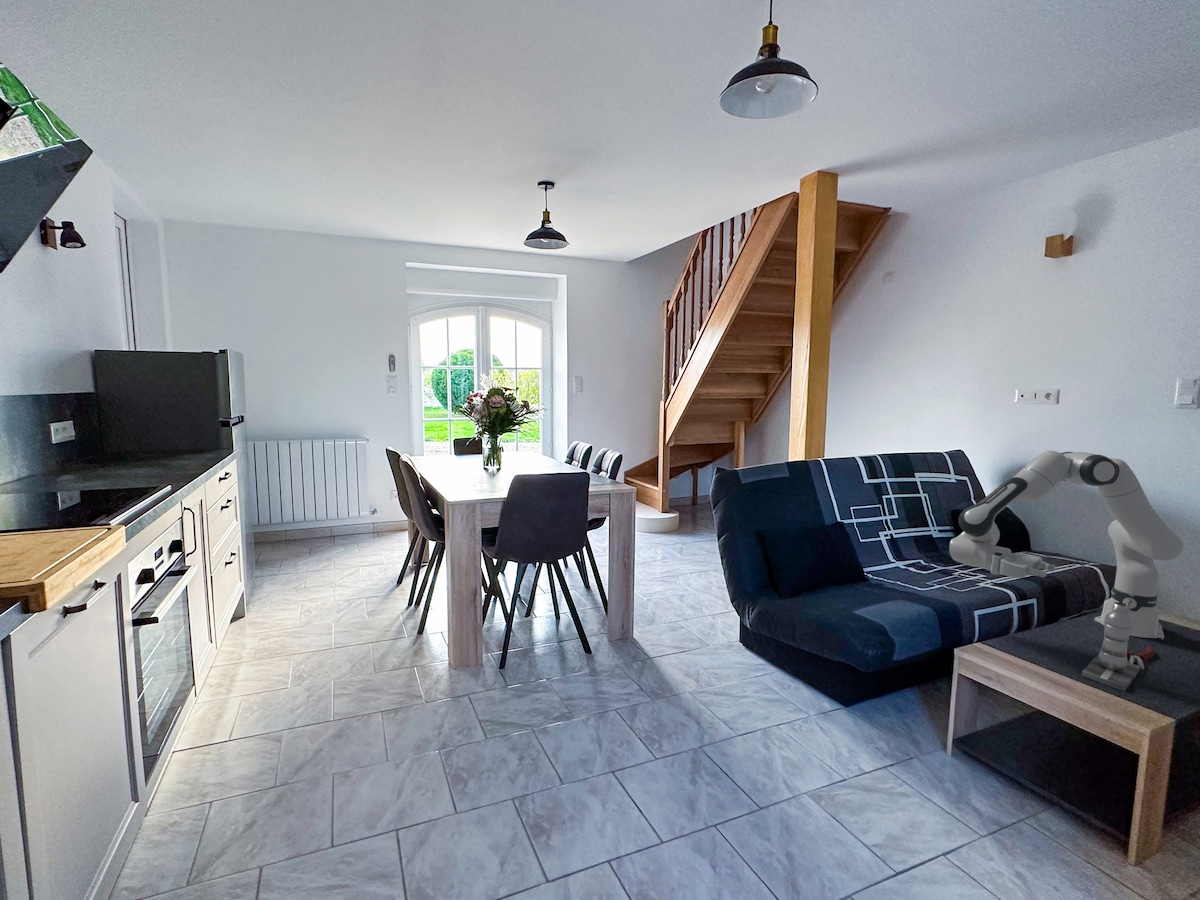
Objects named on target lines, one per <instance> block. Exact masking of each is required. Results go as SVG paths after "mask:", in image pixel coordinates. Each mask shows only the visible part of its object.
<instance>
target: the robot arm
mask: <svg viewBox="0 0 1200 900" xmlns="http://www.w3.org/2000/svg"><path fill="white" fill-rule="evenodd" d="M1062 481H1064V482H1070V483H1072V484H1075V485H1076V484H1077V485H1088V486H1092V487H1097V489H1098V491H1099V493H1100V496H1101V498H1102V499H1103V502H1104V504H1105V506H1106V508H1107V511H1108V512H1109V513H1110V516H1111V517H1113V518H1114V520H1113V521H1112V522H1111V523H1110V524H1109V525H1108V529H1107V534H1108V536H1109V539H1111V541H1112V544H1113V547H1114V552H1115V553H1114V554H1115V559H1116V572H1115V580H1114V585H1113V586H1112V589H1111V591H1110V593H1111V594H1110V596H1111V597H1110V598H1108V599H1106V600H1104V602H1103V606H1102V607H1103V608H1102V612H1101V615H1099V616H1095V618H1094V622H1097V623H1099V624H1101V625H1102V626H1104V618H1105V616H1106V615H1107V614H1108V613H1110V612H1111V611H1113V609H1112V607H1113V604H1114V602H1119V603H1124V604H1127V605H1129V606H1130V612H1129V613H1128V615H1129V616H1130V618H1131V620H1132V621H1133V628H1132V631H1131V633H1130V636H1131V637H1136V638H1145V639H1157V638H1161V639H1160V640H1165V635H1164V631H1163V627H1162V625H1161V623H1160V622H1159V620H1160V613H1159V612H1158V610H1157V609H1156V607H1157V606H1156V605H1157V603H1158V596H1157V590H1158V584H1159V580H1160V574H1159V573H1160V572H1159V571H1158V569H1157V568H1156V566H1155V564H1154V563H1155V562H1154V560H1158V561H1172V560H1175V559H1176V558H1178V557H1179V556H1180V555H1181V554H1182V553H1183V549H1184V543H1183V540H1182V539H1181V537H1180V536H1178V534H1176V533H1175V532H1174V531H1173V530H1172V529H1170V528H1169V526H1168V525H1167V524H1166V522H1165V521H1164V520H1163V519H1162V518H1161V517H1160V516H1159V514H1158V513H1157V512H1156V510H1155V509H1154V507H1153V506H1152V505H1151V504H1150V502H1149V500H1148V498H1147V495H1146V493H1145V491H1144V489H1143V487H1142V486H1141V483H1140V482H1139V479H1138V478H1137V476H1136V474H1135V473H1134V471H1133V470H1132V468H1131V467H1130V466H1129V465H1128V463H1127V462H1126V461H1124V460H1123V459H1120V458H1109V457H1107V456H1105V455H1102V454H1095V453H1091V452H1073V451H1064V452H1059V451H1055V450H1046V451H1044V452H1042V453H1040V454H1039V455H1037V456H1036V457H1034V458H1033V459H1032V460H1030V461H1029V462H1028V463H1027V464H1026V465H1025V466H1023V468H1022V469H1021V470H1020V471H1019V472H1017V473H1016V474H1015V475H1014V476H1013V477H1011V478H1009V479H1007V480H1006V481H1004V482H1003V483H1001V484H1000V485H999V486H997V488H995V489H994V490H993V491H991V492H990V493H989V494H988V495H986V496H985V497H984V498H983V499H982V500H980V501H979V502H977V503H975V504H972V505H971V506H969V507H968V506H967V507H966V508H965V509H964V510H962V511H961V512H960V514H959V516H958V521H957V523H958V525H959V527H960V528H961V530H962V532H961V533H960V534H959V535H957V536H956V537H953V538H952V539H950V541H949V543H948V552H949V555H950V558H952V560H953V561H955V562H956V563H957V562H958V563H959V564H963V565H966V566H969V567H974V568H982V569H984V570H986V571H990V574H992V575H995V576H998V575H1000V576H1001V575H1002V576H1005V577H1006V576H1007V577H1011V578H1017V579H1024V578H1025V577H1027V576H1031V577H1032V576H1033V577H1041V578H1045V577H1047V574H1048V571H1049V572H1052V573H1053V572H1055V571H1056V565H1054V564H1051V563H1050V564H1049V563H1048V562H1045V561H1043V557H1041V556H1038V555H1034V554H1028V553H1023V552H1016V553H1013V552H1012V550H1011V549H1010V548H1008V547H1003V546H1000V545H997V544H998V542H999V540H1000V537H1001V534H1000V530H999V528H998V525H997V524H996V522H995V518H996V516H997V515H998V514H999V513H1001V511H1003V510H1005V508H1007V506H1009V505H1010V504H1011V503H1013V502H1014V501H1016V500H1023V501H1026V502H1037V501H1039V500H1041V499H1043V498H1045V497H1047V495H1049V493H1051V491H1053V489H1055V487H1056V486H1058V485H1059V483H1061V482H1062ZM1042 569H1044V570H1042ZM1046 570H1047V571H1046Z"/></svg>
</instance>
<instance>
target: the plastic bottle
mask: <svg viewBox="0 0 1200 900" xmlns="http://www.w3.org/2000/svg"><path fill="white" fill-rule="evenodd" d="M1112 609H1113V611H1111V612H1110V613H1108V614H1107V615H1106V616H1105V618H1104V625H1103V626H1104V631H1103V633H1104V635H1103V641H1102V645H1101V649H1100V650H1099V653H1098V654H1099V656H1098V660H1099V663H1100V664H1101V665H1102V666H1104V667H1106V668H1108V669H1112V670H1116V671H1123V670H1124V669H1126V666H1127V662H1128V659H1127V650H1128V644H1129V640H1130V636H1131V635H1130V633H1131V631H1132V628H1133V621H1132V620H1131V618H1130V616H1129V615H1128V613H1129V612H1130V606H1129V605H1127V604H1124V603H1119V602H1114V604H1113V607H1112Z"/></svg>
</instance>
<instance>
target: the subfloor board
mask: <svg viewBox="0 0 1200 900" xmlns="http://www.w3.org/2000/svg"><path fill="white" fill-rule="evenodd" d="M1098 656H1099V653H1098V654H1096V656H1095V657H1094V658H1093V659H1092V660H1091V661H1090V662H1089V663H1088V664H1087V666H1085V668H1083V670H1082V671H1081V675H1082V676H1085V677H1087V678H1090V679H1092V680H1091V681H1093V680H1095V681H1094V682H1096V681H1098V682H1097V683H1099V682H1100V684H1103V685H1105V684H1106V686H1108V687H1112V688H1114V689H1118V690H1120V691H1123V692H1126V691H1127V689H1128V688H1129V687H1130V685H1131V683H1133V681H1134V679H1135V678H1136V676H1138V674H1139V672H1140V671H1141V667H1140V666H1138V665H1137V664H1131V663H1129V661H1127V666H1126V669H1124V670H1123V671H1116V670H1112V669H1108V668H1106V667H1104V666H1102V665H1101V664H1100V663H1099V660H1098ZM1081 675H1080V676H1081ZM1087 678H1086V679H1087ZM1090 679H1089V680H1090Z"/></svg>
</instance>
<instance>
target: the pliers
mask: <svg viewBox="0 0 1200 900" xmlns="http://www.w3.org/2000/svg"><path fill="white" fill-rule="evenodd" d="M1134 654H1135V653H1133V652H1132V651H1130V650H1128V649H1127V660H1129V661H1128V663H1131V664H1134V663H1136V665H1138V666H1140V669H1142V670H1145V665H1144V664H1147V662H1148V660H1149V659H1152V658H1154V656H1155V651H1154V649H1153V648H1152V646H1146V651H1142V652H1140V653H1136V654H1135V655H1134Z"/></svg>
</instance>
